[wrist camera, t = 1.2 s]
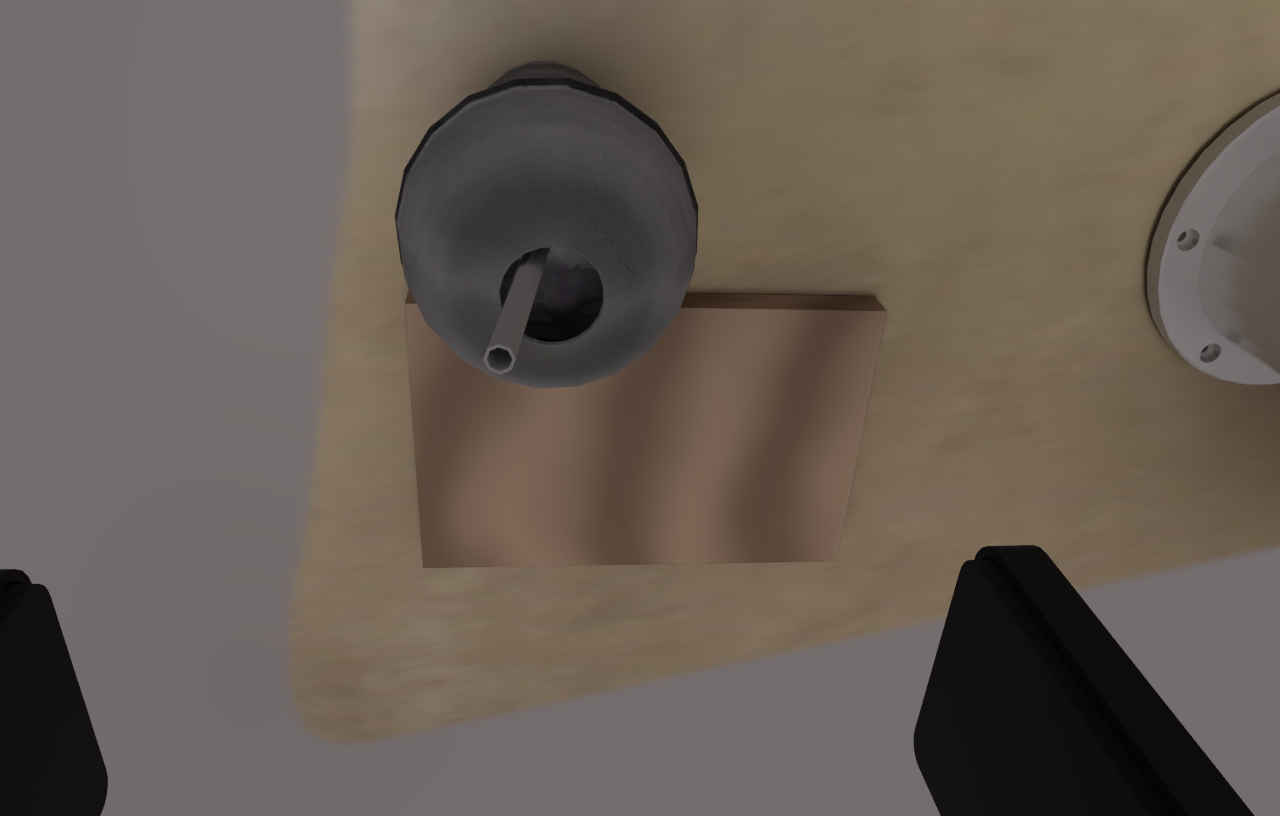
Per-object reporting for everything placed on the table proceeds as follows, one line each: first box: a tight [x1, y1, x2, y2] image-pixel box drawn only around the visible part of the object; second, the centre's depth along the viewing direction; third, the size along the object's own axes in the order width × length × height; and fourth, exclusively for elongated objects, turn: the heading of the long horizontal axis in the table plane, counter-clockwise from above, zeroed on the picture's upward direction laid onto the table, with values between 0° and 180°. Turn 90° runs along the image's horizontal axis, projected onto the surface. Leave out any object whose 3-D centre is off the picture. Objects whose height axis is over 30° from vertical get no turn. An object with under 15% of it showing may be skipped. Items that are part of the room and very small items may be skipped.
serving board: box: [405, 289, 887, 568], centre depth 38 cm, size 18×12×2 cm, turn 87°
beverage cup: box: [395, 62, 698, 389], centre depth 24 cm, size 7×7×20 cm
